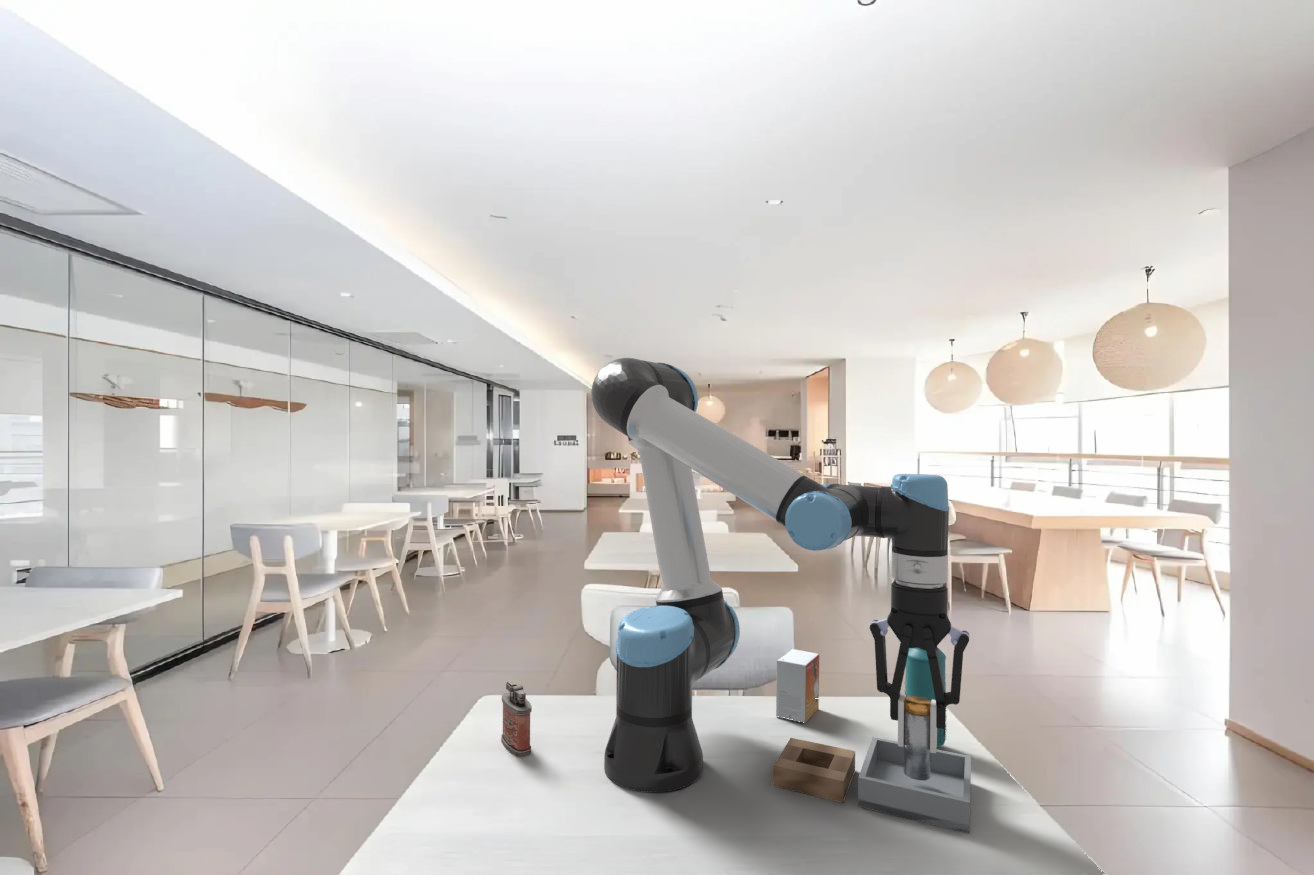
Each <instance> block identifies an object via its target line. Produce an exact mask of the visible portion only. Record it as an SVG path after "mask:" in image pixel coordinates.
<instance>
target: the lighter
mask: <svg viewBox="0 0 1314 875" xmlns="http://www.w3.org/2000/svg"><path fill="white" fill-rule="evenodd" d="M505 689H506V690H507V691H508V692H506V693H503V694H501V702H502V734H501V735H500V737H501V739H500V741H501V743H502V746H503V747H504V748H505V750H506V751H508V752H509V754H511V755H513V756H515V757H516V758H525V757H529V756H530V755H531V754H532V746H531V713H532V709H533V708H532V704H531V702H530V701H529V700H528V699H527V698H526V697H527V692H526V691H525V690H524V687H523V685H522V684H520V685H518V684H517V683H515V682H514V681H513V680H507V681H506V682H505Z"/></svg>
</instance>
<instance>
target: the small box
mask: <svg viewBox="0 0 1314 875" xmlns="http://www.w3.org/2000/svg"><path fill="white" fill-rule="evenodd" d="M775 681H776V695H775V696H776V698H775V699H776V700H775V702H776V703H775V706H776V708H775V710H776V711H775V714H776V715H775V716H779V717H785V718H789V719H793V720H795V721H794V722H796V721H800V722H804V723H803V724H806V723H807V722H808V720H810V718H812V717H813V716H814V715H815V713H817V712H818V711H819V708H820V707H819V705H820V704H819V703H820V694H819V693H820V687H819V686H820V654H819V653H816V652H810V651H806V650H805V651H804V650H801V649H795V648H794V649H793V648H791V649H790V650H789V651H787V653H785V654H784V655H783V656H782V657H780V658H778V659H776V680H775ZM815 698H819V699H815ZM817 710H818V711H817ZM779 717H778V718H779ZM806 721H807V722H806ZM800 722H799V723H800ZM805 722H806V723H805Z"/></svg>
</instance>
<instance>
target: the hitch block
mask: <svg viewBox="0 0 1314 875" xmlns="http://www.w3.org/2000/svg"><path fill="white" fill-rule="evenodd" d="M772 772H773V773H772V774H773V779H772V780H773V782H772V783H773V784H772V786H773V787H777V788H781V789H785V790H789V791H793V792H797V793H801V794H805V795H810V796H813V797H818V798H821V799H822V798H823V799H826V800H829V801H834V802H839V803H844V802H845V800H846V797H847V793H848V792H849V791H848V790H849V788H850V785H851V784H852V783H851V782H852V779H853V777H854V775H855V772H856V750H851V749H847V748H843V747H842V748H841V747H837V746H834V745H827V744H822V743H818V742H813V741H808V740H805V739H798V738H795V737H794V738H793V737H790V738H789V740H788V742H787V743H786V745H785V746H784V748H783V749H782V751H781V752H780V754H779V756H778V758H776V760H775V762H774V764H773V771H772Z"/></svg>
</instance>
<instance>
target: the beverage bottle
mask: <svg viewBox="0 0 1314 875" xmlns="http://www.w3.org/2000/svg"><path fill="white" fill-rule="evenodd" d="M937 648H938V655H939V661H940V666H941V672H942V677H943V683H944V688H945V693H946V692H947V687H948V686H947V682H946V660H947V656H946V654H945V653H944V652H943V651H942V649H940V648H939V647H937ZM904 675H905V678H904V680H905V681H904V691H903V692H904V695H906V697H908V696H919V697H923V698H926V699H928V700H930V701H932V699H933V700H936V699H935V694H934V688H933V683H932V677H931V672H930V666H929V661H928V657H927V652H926V650H923V649H920V648H909V652H908V657H907V662H906V667H905V671H904ZM947 711H948V710H947V707H946V714H947ZM947 731H948V730H947V723H946V724H945V727H944V729H941V728H937V748H939V747H942V746H944V745H945V742H946V740H947V738H948V737H947Z"/></svg>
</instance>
